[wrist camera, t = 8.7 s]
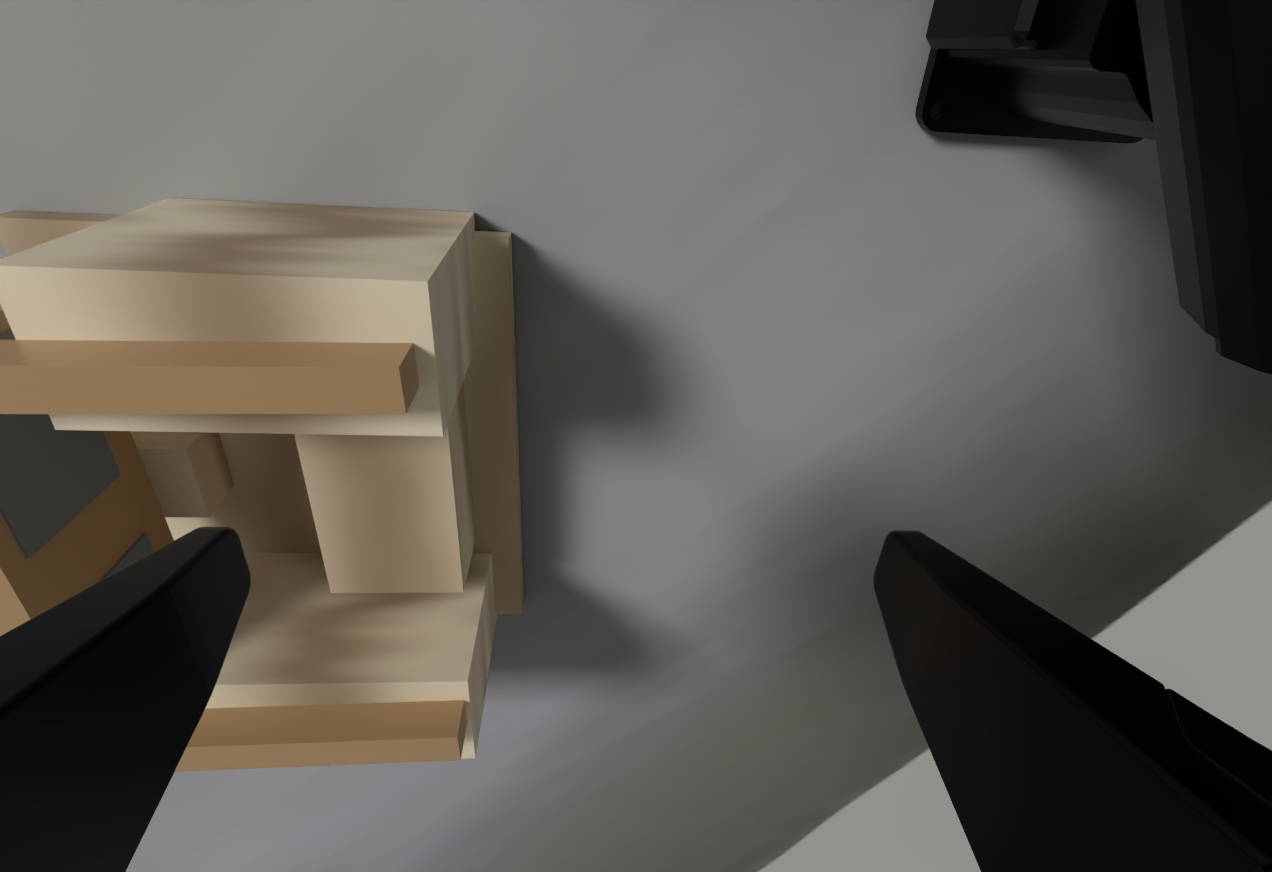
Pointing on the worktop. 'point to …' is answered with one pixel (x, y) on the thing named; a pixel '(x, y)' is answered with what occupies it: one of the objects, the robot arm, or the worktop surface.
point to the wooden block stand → (317, 429)
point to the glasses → (134, 522)
